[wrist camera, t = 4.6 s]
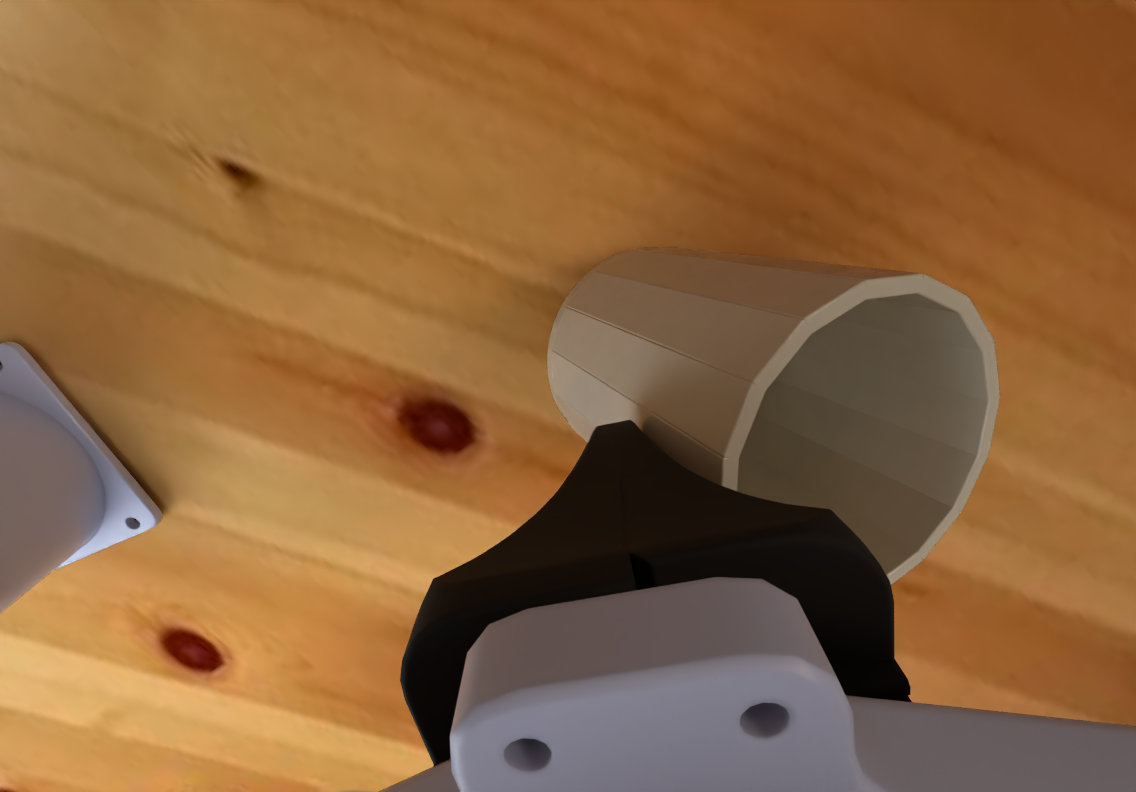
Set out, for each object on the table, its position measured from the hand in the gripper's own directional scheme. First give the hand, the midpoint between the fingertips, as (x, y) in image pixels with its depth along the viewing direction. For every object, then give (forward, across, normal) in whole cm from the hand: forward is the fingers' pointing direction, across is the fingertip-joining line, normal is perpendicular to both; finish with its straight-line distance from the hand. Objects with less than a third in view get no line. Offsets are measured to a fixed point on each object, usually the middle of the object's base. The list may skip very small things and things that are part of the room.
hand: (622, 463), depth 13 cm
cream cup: (+7, -1, 0) cm, 7 cm away
